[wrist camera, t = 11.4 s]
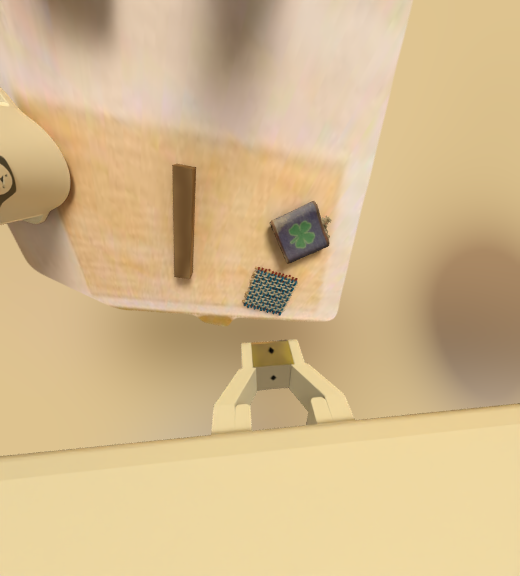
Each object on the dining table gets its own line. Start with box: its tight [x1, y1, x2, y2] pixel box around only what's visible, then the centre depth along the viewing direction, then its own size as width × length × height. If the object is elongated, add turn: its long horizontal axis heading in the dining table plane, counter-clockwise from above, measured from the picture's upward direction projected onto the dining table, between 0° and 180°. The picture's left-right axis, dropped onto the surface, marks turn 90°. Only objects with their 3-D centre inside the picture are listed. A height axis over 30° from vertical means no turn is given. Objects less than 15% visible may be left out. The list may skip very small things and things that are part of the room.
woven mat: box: [242, 267, 297, 316], centre depth 51 cm, size 10×11×2 cm
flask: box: [270, 201, 331, 264], centre depth 43 cm, size 9×3×11 cm
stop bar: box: [172, 164, 196, 279], centre depth 41 cm, size 3×20×3 cm, turn 170°
